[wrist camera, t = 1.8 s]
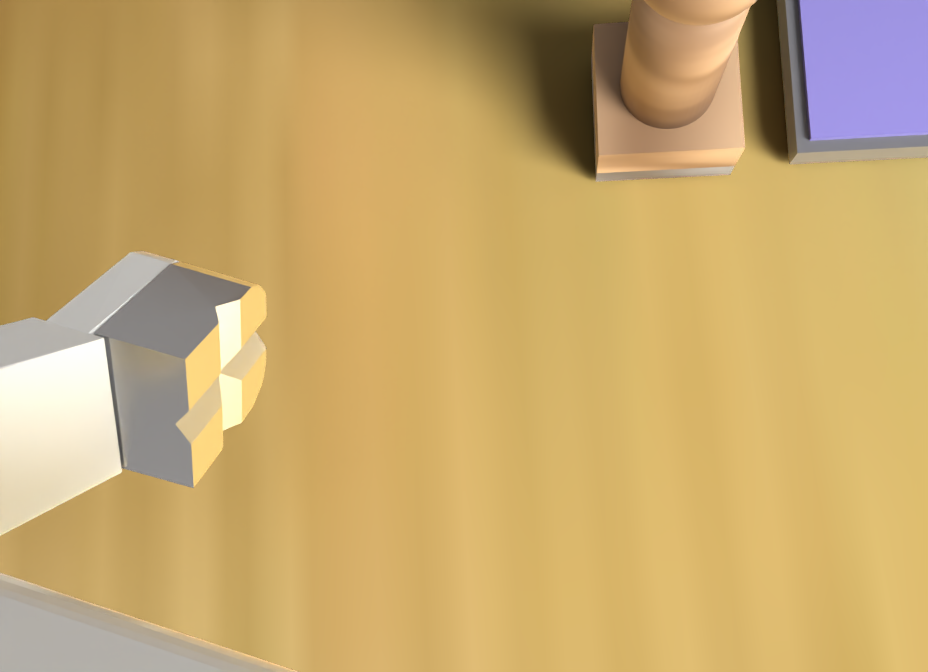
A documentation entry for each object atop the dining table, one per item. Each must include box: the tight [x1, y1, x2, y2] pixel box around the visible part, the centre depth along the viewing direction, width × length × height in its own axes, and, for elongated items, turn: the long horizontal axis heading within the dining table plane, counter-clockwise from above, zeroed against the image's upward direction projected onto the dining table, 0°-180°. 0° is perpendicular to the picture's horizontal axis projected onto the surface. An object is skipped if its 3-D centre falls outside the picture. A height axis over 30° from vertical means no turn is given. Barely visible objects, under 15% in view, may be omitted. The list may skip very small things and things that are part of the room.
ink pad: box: [777, 0, 928, 164], centre depth 28 cm, size 6×8×1 cm
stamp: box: [591, 0, 757, 181], centre depth 23 cm, size 4×4×11 cm
